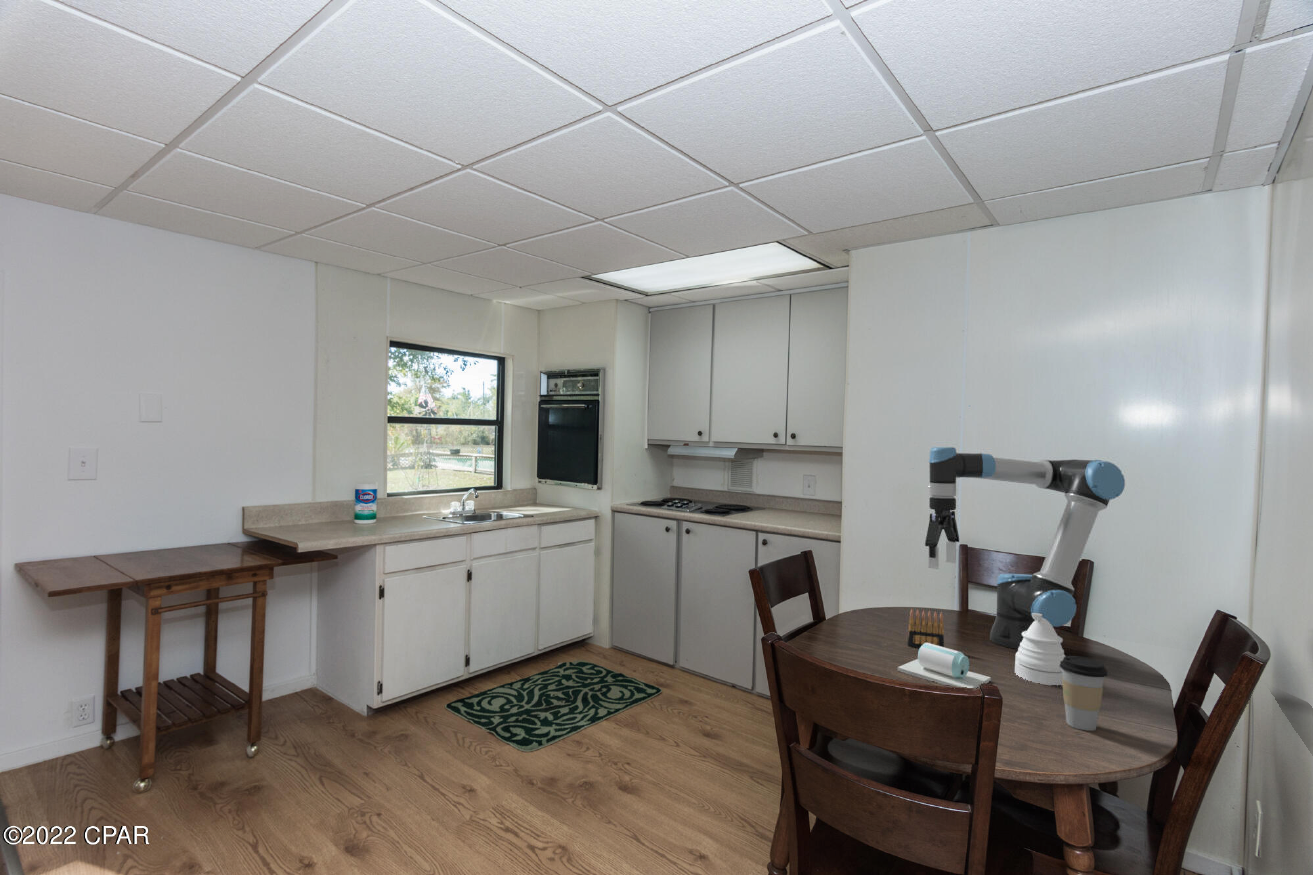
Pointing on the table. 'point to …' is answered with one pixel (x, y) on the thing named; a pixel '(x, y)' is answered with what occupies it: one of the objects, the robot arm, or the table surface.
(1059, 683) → the honey pot
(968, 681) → the mat
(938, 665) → the can
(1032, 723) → the table surface
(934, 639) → the ammunition clip
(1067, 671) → the coffee cup
